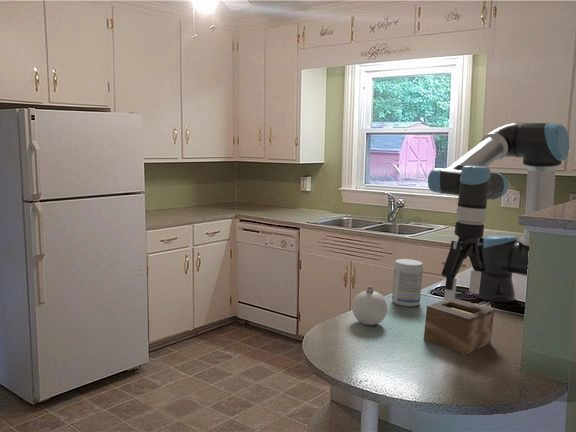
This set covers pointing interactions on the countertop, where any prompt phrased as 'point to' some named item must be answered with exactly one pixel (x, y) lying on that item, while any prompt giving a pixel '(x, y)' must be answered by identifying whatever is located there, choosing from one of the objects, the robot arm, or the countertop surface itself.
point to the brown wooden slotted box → (458, 325)
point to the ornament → (369, 307)
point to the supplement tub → (407, 282)
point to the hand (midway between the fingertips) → (461, 296)
